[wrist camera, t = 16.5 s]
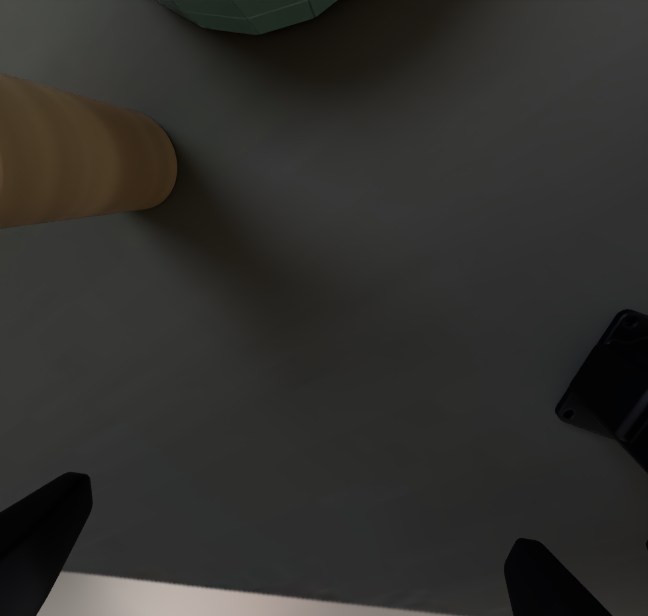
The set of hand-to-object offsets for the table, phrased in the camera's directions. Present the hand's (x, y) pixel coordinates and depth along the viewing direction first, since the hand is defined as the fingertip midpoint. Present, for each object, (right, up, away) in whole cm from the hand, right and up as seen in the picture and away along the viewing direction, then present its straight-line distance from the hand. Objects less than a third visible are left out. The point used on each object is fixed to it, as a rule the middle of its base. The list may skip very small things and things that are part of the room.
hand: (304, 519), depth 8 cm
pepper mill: (-9, +12, +11) cm, 18 cm away
